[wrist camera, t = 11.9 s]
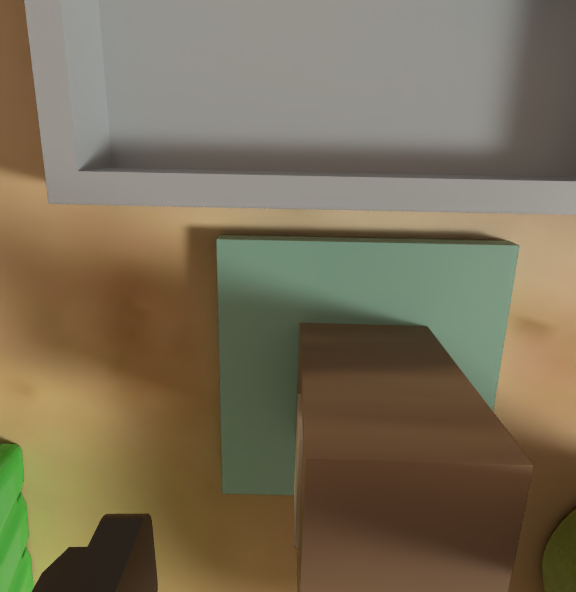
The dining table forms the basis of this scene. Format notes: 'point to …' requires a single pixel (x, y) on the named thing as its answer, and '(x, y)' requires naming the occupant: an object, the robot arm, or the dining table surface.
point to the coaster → (340, 310)
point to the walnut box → (400, 467)
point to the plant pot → (561, 557)
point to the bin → (308, 103)
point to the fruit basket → (13, 523)
